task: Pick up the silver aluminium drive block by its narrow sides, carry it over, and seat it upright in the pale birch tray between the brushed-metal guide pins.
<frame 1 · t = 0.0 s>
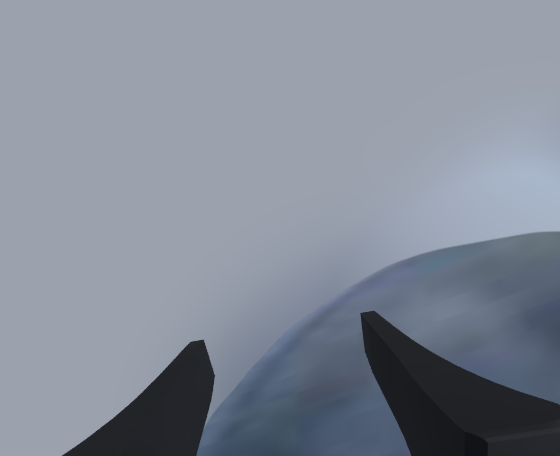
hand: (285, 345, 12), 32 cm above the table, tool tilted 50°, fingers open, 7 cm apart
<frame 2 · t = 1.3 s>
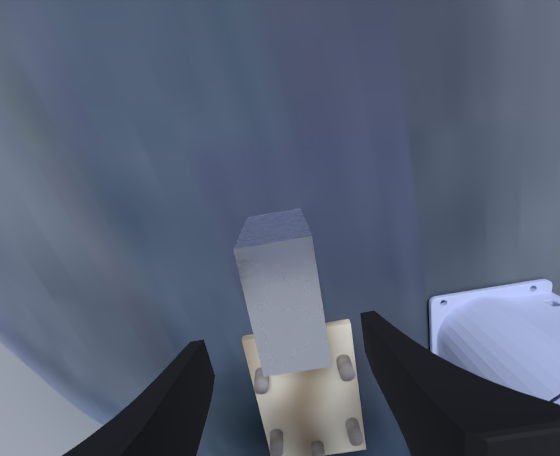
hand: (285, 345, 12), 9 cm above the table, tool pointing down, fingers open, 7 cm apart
birch pin tray: (307, 393, 25), on the table
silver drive: (283, 261, 22), on the table
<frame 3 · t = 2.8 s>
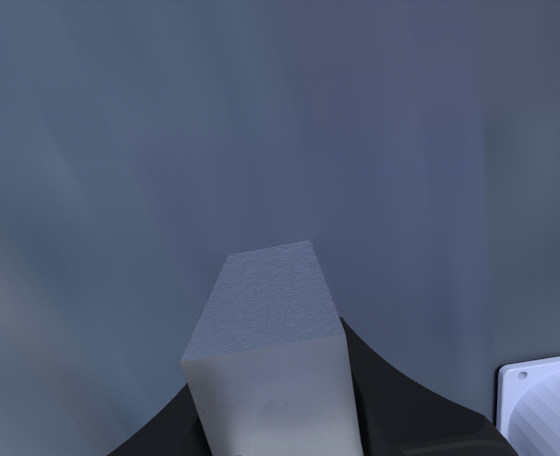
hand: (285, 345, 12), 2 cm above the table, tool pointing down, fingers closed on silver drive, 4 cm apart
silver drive: (283, 318, 14), on the table, touching gripper
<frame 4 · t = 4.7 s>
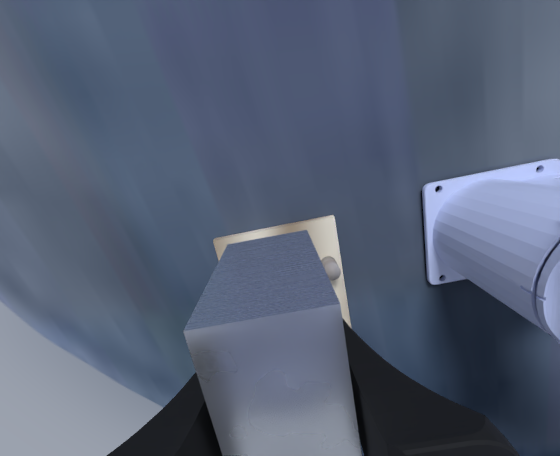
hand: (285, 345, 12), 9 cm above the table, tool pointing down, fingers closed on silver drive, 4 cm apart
birch pin tray: (290, 307, 23), on the table
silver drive: (281, 307, 15), point 7 cm above the table, touching gripper
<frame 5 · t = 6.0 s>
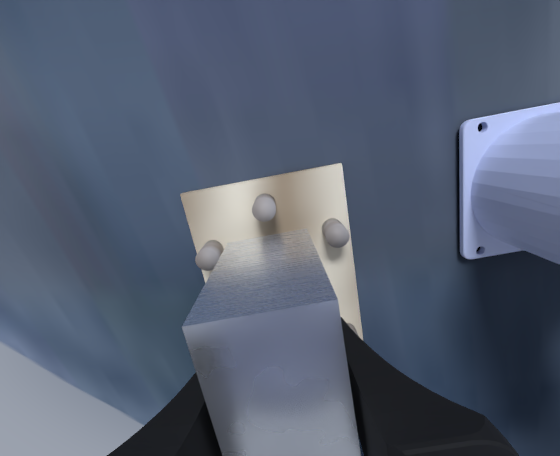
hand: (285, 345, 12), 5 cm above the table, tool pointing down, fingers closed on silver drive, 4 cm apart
birch pin tray: (282, 287, 18), on the table
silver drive: (281, 306, 15), point 3 cm above the table, touching gripper
when the fingers open (4 cm above the table, at t = 6.8 s): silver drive stays where it is, resting on birch pin tray.
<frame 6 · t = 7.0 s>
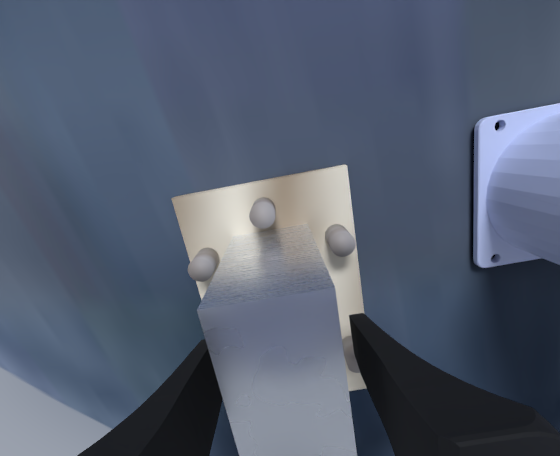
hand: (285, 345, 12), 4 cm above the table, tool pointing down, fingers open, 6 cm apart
birch pin tray: (282, 297, 16), on the table
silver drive: (282, 296, 16), point 1 cm above the table, touching birch pin tray
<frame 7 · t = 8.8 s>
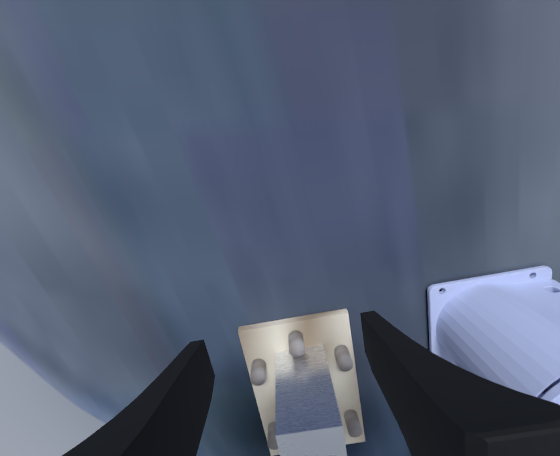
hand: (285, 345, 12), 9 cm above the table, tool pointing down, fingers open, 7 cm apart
birch pin tray: (305, 384, 25), on the table
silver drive: (306, 386, 24), point 1 cm above the table, touching birch pin tray
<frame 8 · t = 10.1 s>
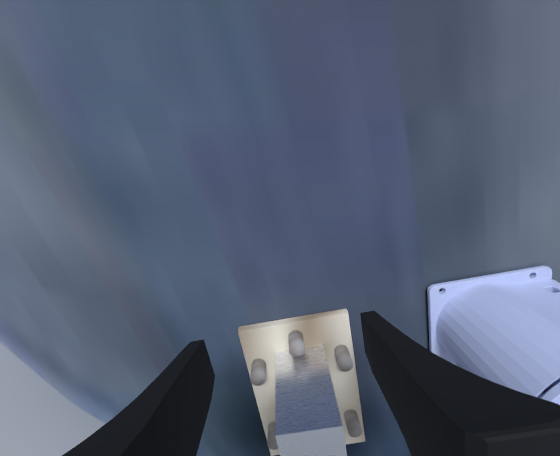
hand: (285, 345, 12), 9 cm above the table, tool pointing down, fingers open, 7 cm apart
birch pin tray: (305, 384, 25), on the table
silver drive: (306, 386, 24), point 1 cm above the table, touching birch pin tray
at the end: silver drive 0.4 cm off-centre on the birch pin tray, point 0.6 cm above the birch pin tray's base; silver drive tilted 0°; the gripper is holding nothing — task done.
